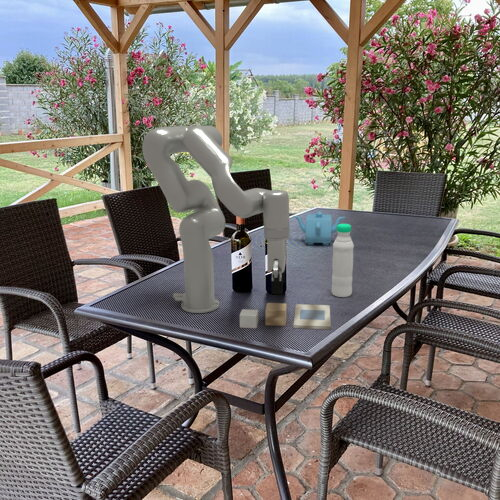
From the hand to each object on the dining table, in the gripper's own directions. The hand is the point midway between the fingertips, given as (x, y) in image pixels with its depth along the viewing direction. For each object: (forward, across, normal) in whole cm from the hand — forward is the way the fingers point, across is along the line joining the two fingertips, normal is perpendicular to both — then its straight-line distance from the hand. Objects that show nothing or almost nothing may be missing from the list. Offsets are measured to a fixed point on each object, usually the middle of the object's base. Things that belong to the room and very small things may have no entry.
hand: (278, 288), depth 157 cm
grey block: (+11, +3, -9) cm, 14 cm away
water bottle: (+12, -26, +20) cm, 35 cm away
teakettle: (+10, -98, +12) cm, 100 cm away
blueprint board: (+11, -4, +10) cm, 16 cm away
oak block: (+11, 0, -1) cm, 11 cm away
